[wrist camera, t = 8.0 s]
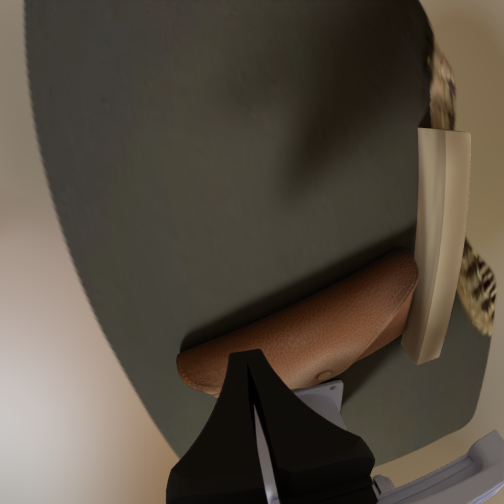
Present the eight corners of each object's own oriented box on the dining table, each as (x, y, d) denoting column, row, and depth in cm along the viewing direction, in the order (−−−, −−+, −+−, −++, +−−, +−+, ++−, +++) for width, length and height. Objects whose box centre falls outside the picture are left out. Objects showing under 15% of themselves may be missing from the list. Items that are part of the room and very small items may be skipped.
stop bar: (400, 344, 25) (416, 365, 22) (417, 127, 18) (445, 130, 15) (421, 337, 25) (438, 356, 22) (442, 129, 18) (470, 132, 16)
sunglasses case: (229, 413, 25) (213, 448, 19) (192, 343, 26) (165, 360, 20) (415, 323, 24) (452, 333, 18) (384, 250, 25) (413, 239, 19)
